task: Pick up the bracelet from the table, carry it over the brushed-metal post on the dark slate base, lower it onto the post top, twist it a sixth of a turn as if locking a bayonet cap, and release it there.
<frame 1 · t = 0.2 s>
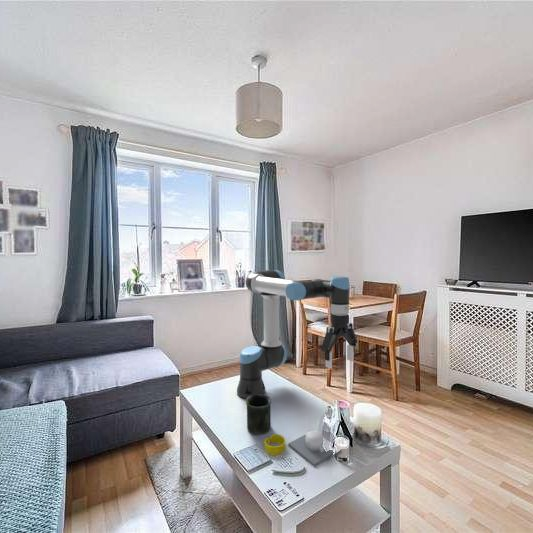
hand: (339, 363, 124), 28 cm above the table, fingers open, 13 cm apart
mug: (257, 426, 128), on the table
bracelet: (274, 449, 113), on the table
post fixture: (314, 448, 113), on the table
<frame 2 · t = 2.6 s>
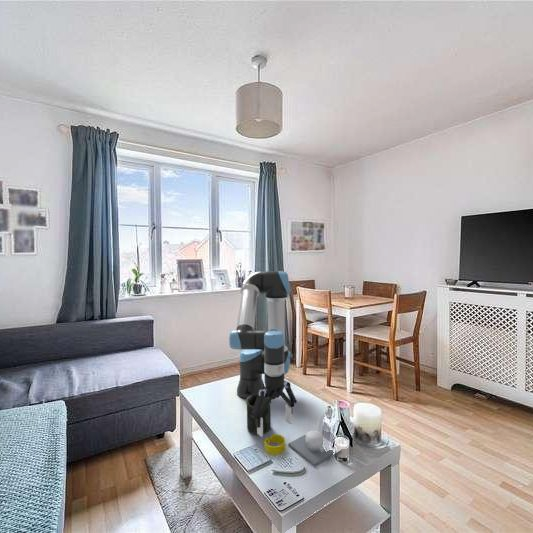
hand: (274, 428, 112), 8 cm above the table, fingers open, 13 cm apart
nothing on the table moved.
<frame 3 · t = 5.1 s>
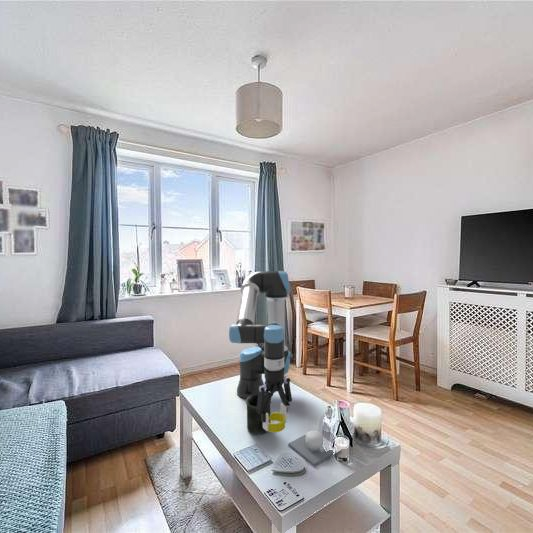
hand: (274, 424, 113), 9 cm above the table, fingers closed on bracelet, 8 cm apart
bracelet: (274, 426, 113), point 8 cm above the table, touching gripper
everything else where it was.
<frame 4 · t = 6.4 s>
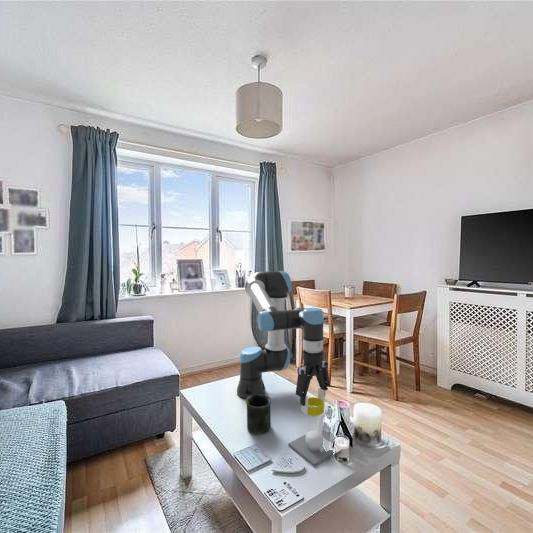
hand: (313, 409, 112), 15 cm above the table, fingers closed on bracelet, 8 cm apart
bracelet: (313, 411, 112), point 15 cm above the table, touching gripper
everything else where it was.
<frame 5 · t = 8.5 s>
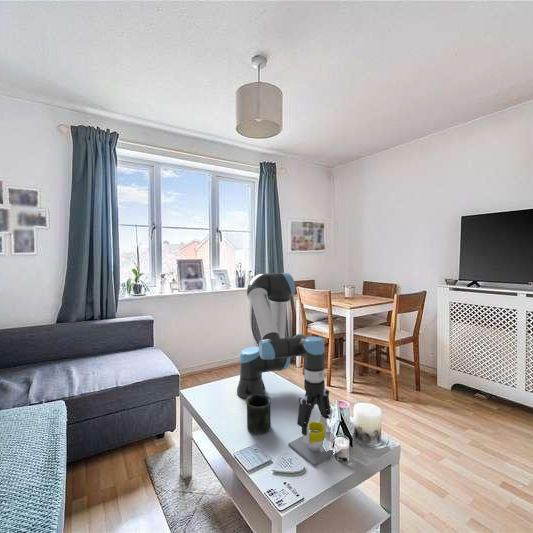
hand: (314, 437, 112), 4 cm above the table, fingers closed on bracelet, 8 cm apart
bracelet: (314, 436, 112), point 5 cm above the table, touching gripper, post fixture
everything else where it was.
when the fingers open (4 cm above the table, at t = 10.3 s): bracelet stays where it is, resting on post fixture.
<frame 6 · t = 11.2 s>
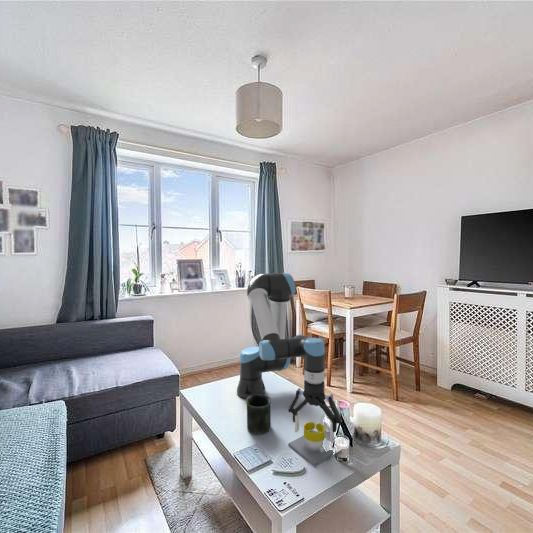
hand: (314, 434, 113), 5 cm above the table, fingers open, 13 cm apart
bracelet: (314, 436, 113), point 5 cm above the table, touching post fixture
everything else where it was.
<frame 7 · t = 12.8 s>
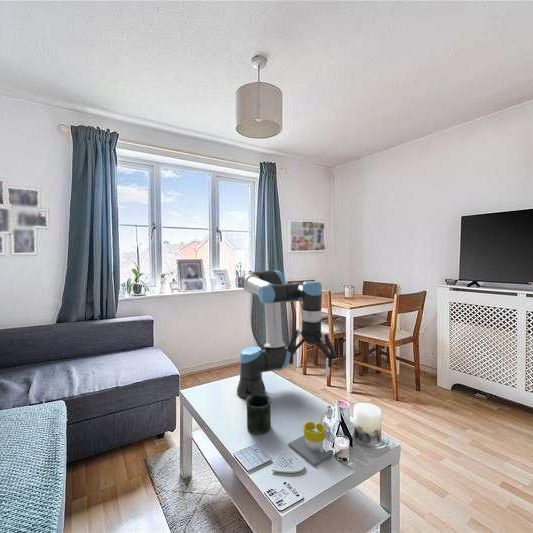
hand: (311, 371, 120), 26 cm above the table, fingers open, 13 cm apart
nothing on the table moved.
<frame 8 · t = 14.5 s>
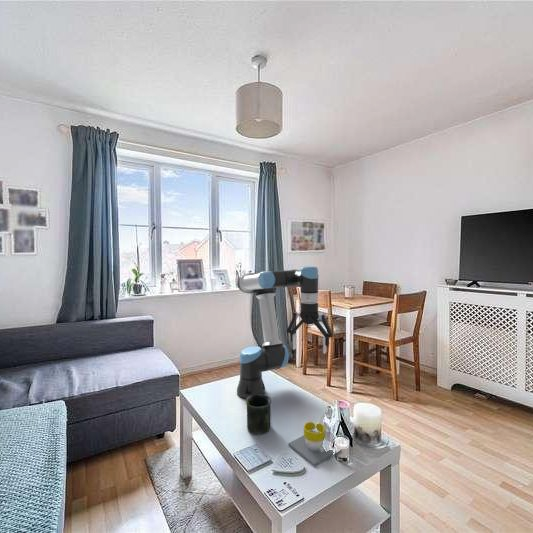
hand: (309, 350, 129), 32 cm above the table, fingers open, 13 cm apart
nothing on the table moved.
at the end: bracelet 0.1 cm from the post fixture (horizontally); bracelet point 4.8 cm above the table; the gripper is holding nothing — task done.
